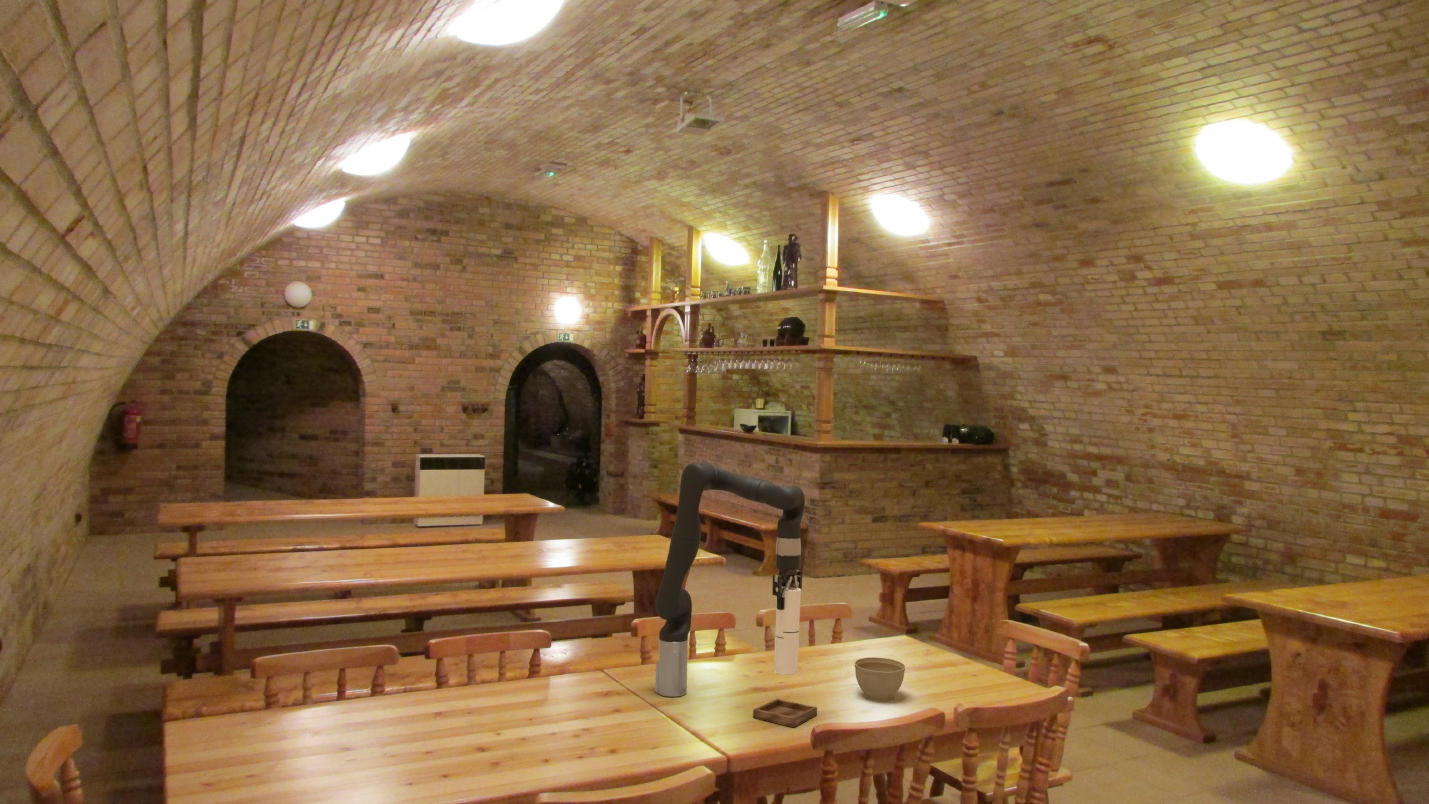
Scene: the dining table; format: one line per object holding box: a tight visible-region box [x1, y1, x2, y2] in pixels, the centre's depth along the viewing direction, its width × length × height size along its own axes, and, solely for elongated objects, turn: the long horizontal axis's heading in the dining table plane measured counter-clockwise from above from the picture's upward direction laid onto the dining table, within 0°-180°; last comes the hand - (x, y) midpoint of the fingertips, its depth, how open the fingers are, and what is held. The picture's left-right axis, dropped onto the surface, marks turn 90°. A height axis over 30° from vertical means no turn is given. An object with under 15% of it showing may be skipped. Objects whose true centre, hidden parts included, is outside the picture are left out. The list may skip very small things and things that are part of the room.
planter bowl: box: [854, 656, 906, 702], centre depth 312 cm, size 16×16×11 cm
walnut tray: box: [752, 698, 818, 728], centre depth 290 cm, size 14×14×2 cm
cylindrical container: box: [773, 587, 802, 676], centre depth 290 cm, size 7×7×25 cm
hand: (786, 607), depth 291 cm, fingers closed on cylindrical container, 7 cm apart
